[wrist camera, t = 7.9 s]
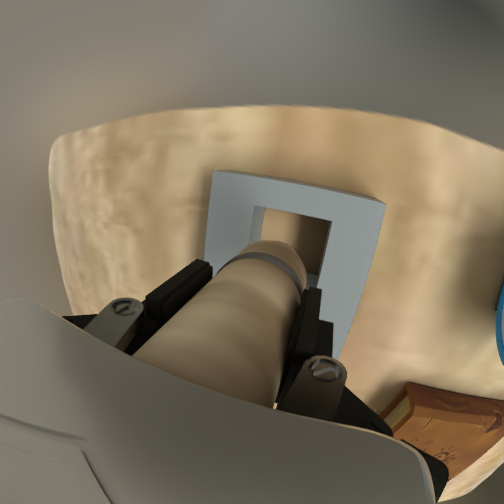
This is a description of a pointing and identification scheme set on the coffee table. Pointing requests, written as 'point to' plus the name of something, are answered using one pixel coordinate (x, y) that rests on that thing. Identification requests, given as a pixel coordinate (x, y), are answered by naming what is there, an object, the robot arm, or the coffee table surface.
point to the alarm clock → (500, 326)
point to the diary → (446, 424)
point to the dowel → (236, 326)
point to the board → (305, 203)
